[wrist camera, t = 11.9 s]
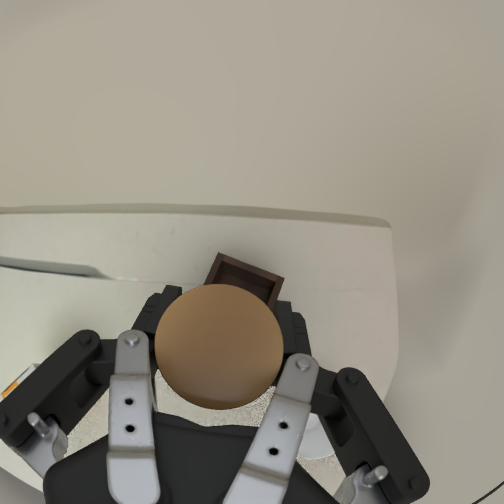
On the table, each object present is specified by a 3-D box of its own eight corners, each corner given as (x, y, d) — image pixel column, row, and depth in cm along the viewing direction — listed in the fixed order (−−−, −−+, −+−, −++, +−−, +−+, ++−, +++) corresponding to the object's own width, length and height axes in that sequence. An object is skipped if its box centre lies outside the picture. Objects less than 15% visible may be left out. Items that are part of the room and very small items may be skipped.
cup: (280, 388, 32) (291, 398, 26) (351, 391, 32) (374, 398, 26) (271, 441, 30) (280, 460, 23) (342, 441, 30) (362, 456, 24)
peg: (266, 327, 19) (301, 310, 10) (243, 387, 18) (256, 426, 8) (205, 304, 19) (183, 265, 10) (182, 362, 18) (136, 378, 9)
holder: (277, 287, 37) (284, 278, 32) (255, 345, 34) (259, 345, 29) (219, 265, 37) (218, 252, 32) (195, 321, 34) (189, 317, 29)
